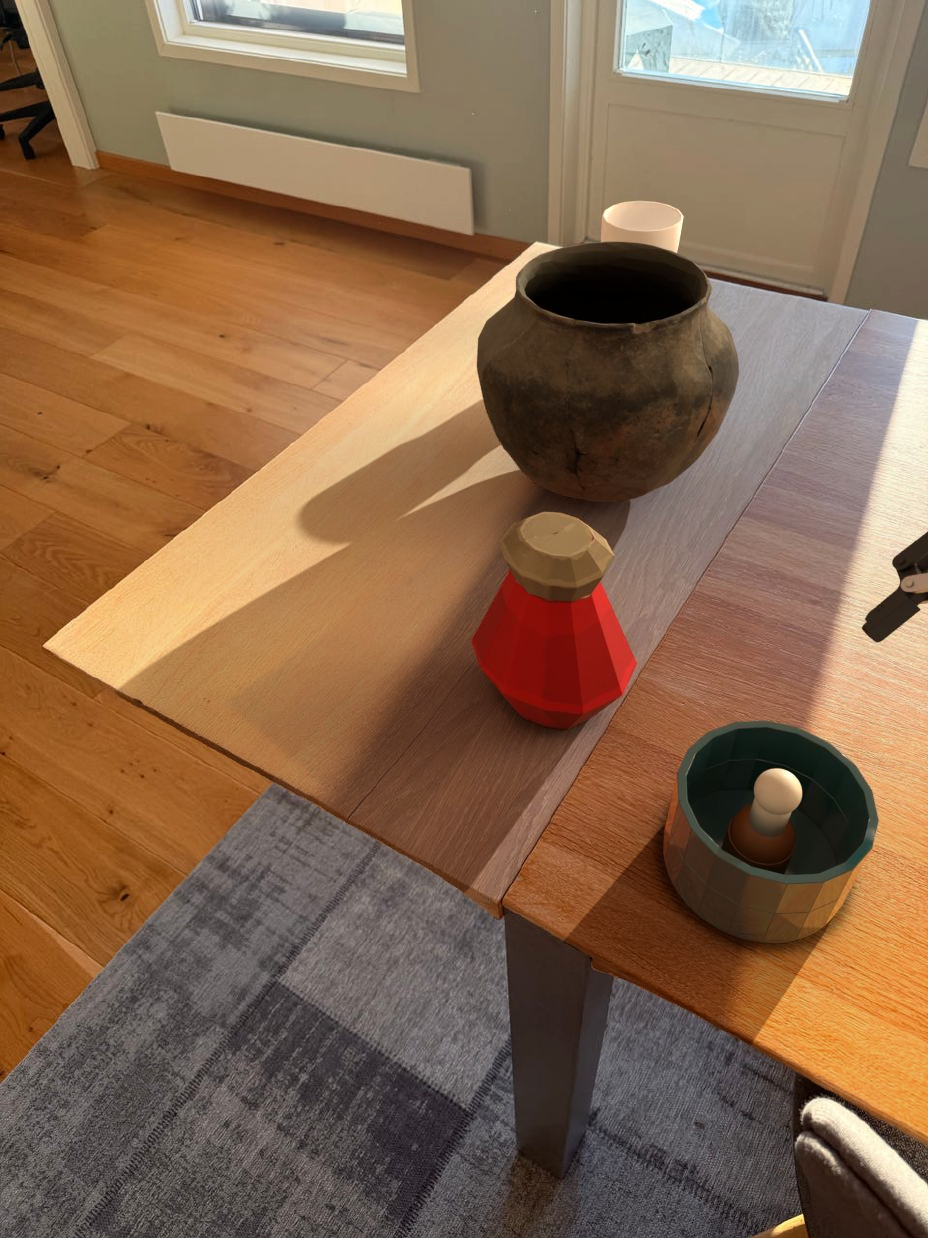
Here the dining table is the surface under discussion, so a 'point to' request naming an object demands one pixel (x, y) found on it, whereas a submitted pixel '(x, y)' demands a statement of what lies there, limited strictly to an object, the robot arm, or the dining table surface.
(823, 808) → the bowl
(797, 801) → the drumstick
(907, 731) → the dining table surface
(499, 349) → the pot
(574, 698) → the bottle
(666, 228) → the cup
